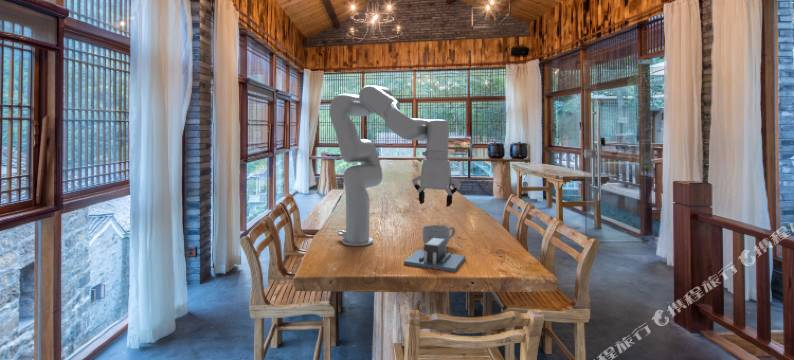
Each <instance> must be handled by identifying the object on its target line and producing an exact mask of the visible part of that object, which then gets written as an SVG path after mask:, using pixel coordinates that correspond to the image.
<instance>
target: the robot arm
mask: <svg viewBox="0 0 794 360" xmlns="http://www.w3.org/2000/svg"><path fill="white" fill-rule="evenodd" d="M392 92H393V91H391V90H390V89H389V88H387V87H384V86H381V85H380V86H379V85H374V84H373V85H372V84H371V85H369V84H368V85H365V86H363V87H362V88H361V89H360V91H359V94H354V93H341V94H338V95H336V96H334V98H333V99H332V100H331V102H330V106H329V117H330V121H331V123H332V126H333V128H334V132H335V135H336V140H337V143H338V147H339V152H340V154H341V158H342V160H343V161H344V162H345V163H348V164H349V163H351V164H353V163H357V165H352V166H349V167H347V168H346V169H345V170H344V173H343V176H342V178H343V186H344V192H345V230H341V229H339V230H338V231H337V236H338V237H342V239H341V242H342V244H343V245H345V246H350V247H365V246H369V245H372V244H373V243H374V239H373V238H372V237H370V195H369V193H368V191H367V189H368V188H373V187H376V186H379V185H380V184H381V183H382V180H383V171H382V170H383V169H382V166H381V162H380V159H379V153H378V149H377V148H376V145H375V144H374V142H372V140H371V139H370V140H369V139H366V138H360V137H359V133H358V130H357V127H356V125H355V123H354V122H353V120H352V119H351V118H350V117H367V116H370V115H373V114H374V115H375V114H376V115H377V116H378V117H380V118H381V119H383V120H384V123H385V125H386V126H387V128H388V129H389V130H390V131H391V132H393V133H394V134H396V135H397V136H399V137H400V138H402V139H403V140H406V141H426V148H425V149H426V150H425V151H422V153H421V156H423V157H425V158H424V159H423V160H422V164H421V165H422V166H421V171H420V172H421V173H420V175H419V176H416V177H414V178H413V179H411V181H412V183H413V186H414V187H413V188H415V189H416V191H417V192H418V201H419V204H420V205H422V204H424V203H425V195H426V193H425V189H431V190H439V191H440V190H443V191H445V192H446V193H447V195H446V204H445V205H446V208H447V207H451V205H453V194H455V193H456V192H457V191H458V190H459V188H460V186H461V185H462V183H461V181H459V180H457V179H456V178H454V177H452V168H451V167H452V166H451V161H450V160H449V141H450V122H449V121H448V120H446V119H428V118H427V119H426V118H418V117H417V118H414V117H409V116H408V115H405V114H404V112H403V113H402V112H401V103H400V102H399V100H397V99H396V98H394V96H393V93H392ZM358 163H360V164H358ZM418 181H419V183H418ZM452 184H454V187H453V188H452Z"/></svg>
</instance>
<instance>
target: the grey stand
mask: <svg viewBox="0 0 794 360" xmlns="http://www.w3.org/2000/svg"><path fill="white" fill-rule="evenodd" d="M465 260H466V255H464V254H463V255H462V254H456V253H454V254H453V253H451V252H446V254H445V256H444V257H443V258H442V260H441V261H440V262H439V263H436V252H433V263H431V262H427V251H424V249H417V250H416V251H415V252H413V253H412V254H411V255H409V256H408V257H406V259H405V260H404V261H403V265H404V264H407V265H406V266H411V265H413V267H418V266H420V267H419V268H425V267H427V268H426V269H431V268H433V270H438V269H440V271H445V270H446V271H445V272H454V273H455V272H456V271H457V270H458V269H459V268H460V266H461V265H462V263H463V262H464V261H465Z"/></svg>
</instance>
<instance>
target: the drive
mask: <svg viewBox="0 0 794 360" xmlns="http://www.w3.org/2000/svg"><path fill="white" fill-rule="evenodd" d="M423 244H424V243H423ZM423 248H424V249H423V250H424V251H427V262H431V263H433V252H436V263H439V262H440V261H441V260H442V258H443V257H444V256H445V254H446V253H447V245H446V239H440V238H432V239H430V240H429V241H428V242H427V243H426V244H424V246H423Z"/></svg>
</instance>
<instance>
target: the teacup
mask: <svg viewBox="0 0 794 360" xmlns="http://www.w3.org/2000/svg"><path fill="white" fill-rule="evenodd" d="M451 230H452V232H451V233H450V231H451ZM455 234H456V229H455V228H454V227H453V226H447V225H438V224H436V225H435V224H433V225H432V224H430V225H425V226H422V242H423V244H426V243H427V242H428V241H429V240H430V239H432V238H440V239H446V246H447V245H448V244H449V240H450V239H452V237H454V236H455Z"/></svg>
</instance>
